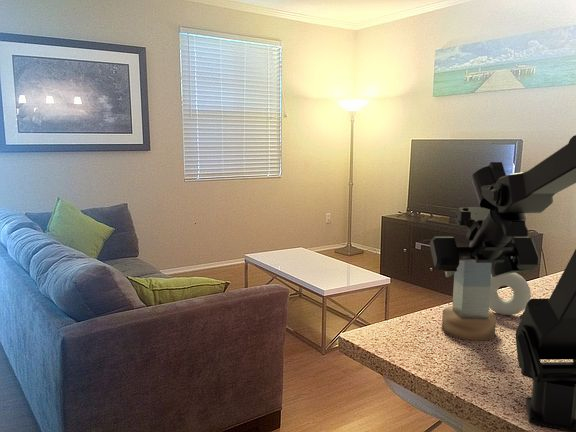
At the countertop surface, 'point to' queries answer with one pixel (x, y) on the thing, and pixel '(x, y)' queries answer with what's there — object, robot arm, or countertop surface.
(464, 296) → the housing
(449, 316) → the pedestal
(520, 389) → the countertop surface
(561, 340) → the robot arm
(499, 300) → the donut
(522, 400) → the countertop surface
